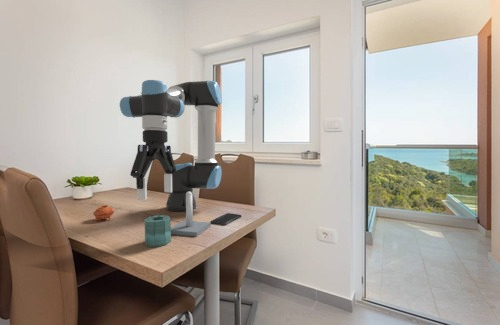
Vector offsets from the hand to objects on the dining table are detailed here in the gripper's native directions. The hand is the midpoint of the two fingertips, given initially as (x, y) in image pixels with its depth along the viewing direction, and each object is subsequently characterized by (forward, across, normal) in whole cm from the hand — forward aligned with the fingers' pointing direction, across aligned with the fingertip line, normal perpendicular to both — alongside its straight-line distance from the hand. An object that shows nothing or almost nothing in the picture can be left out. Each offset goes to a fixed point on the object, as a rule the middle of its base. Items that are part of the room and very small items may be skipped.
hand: (156, 195), depth 81 cm
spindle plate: (+16, +14, -4) cm, 22 cm away
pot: (+16, +18, +39) cm, 46 cm away
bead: (+16, 0, 0) cm, 16 cm away
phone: (+16, +30, -13) cm, 37 cm away
